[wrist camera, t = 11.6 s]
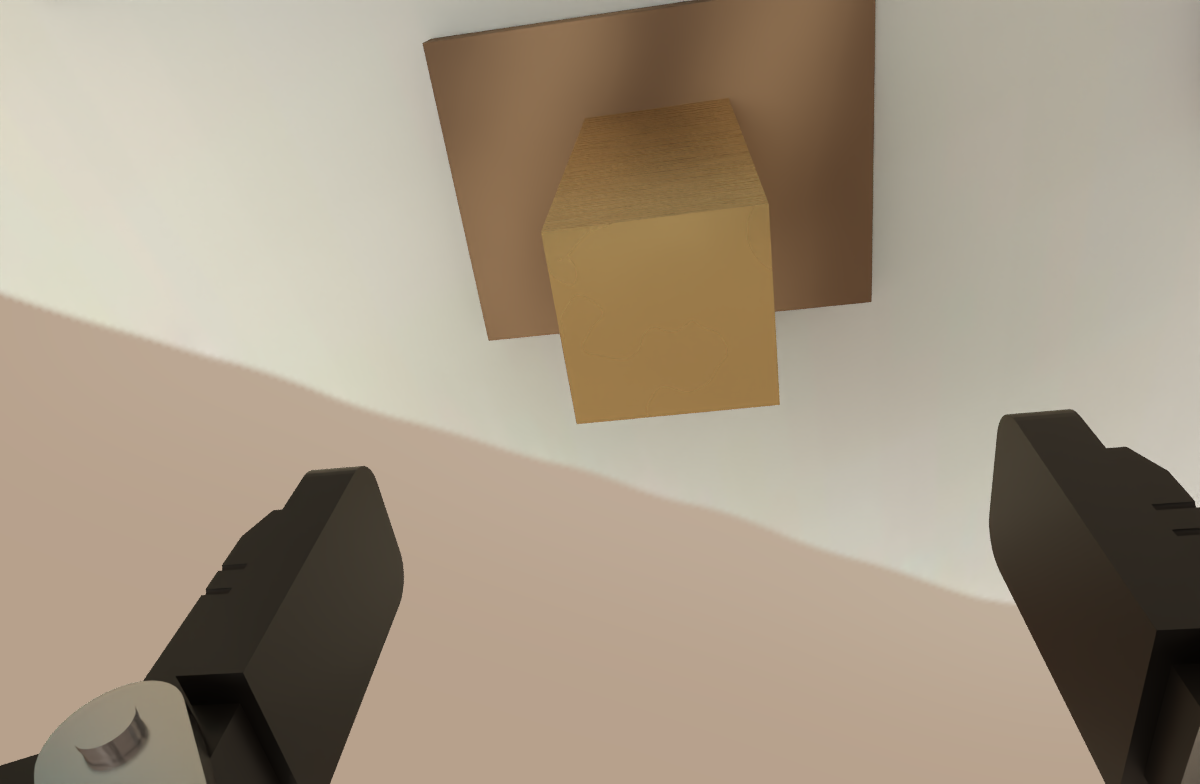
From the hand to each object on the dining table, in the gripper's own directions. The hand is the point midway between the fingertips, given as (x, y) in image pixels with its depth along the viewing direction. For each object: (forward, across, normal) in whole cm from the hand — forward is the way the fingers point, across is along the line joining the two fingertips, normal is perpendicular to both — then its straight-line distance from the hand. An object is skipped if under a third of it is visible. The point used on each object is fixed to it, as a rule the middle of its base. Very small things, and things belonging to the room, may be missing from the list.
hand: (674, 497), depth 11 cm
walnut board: (+16, 0, 0) cm, 16 cm away
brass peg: (+15, 0, 0) cm, 15 cm away
